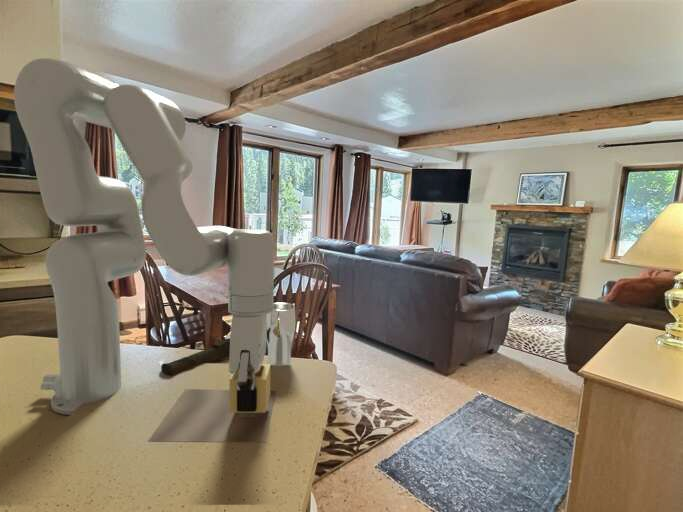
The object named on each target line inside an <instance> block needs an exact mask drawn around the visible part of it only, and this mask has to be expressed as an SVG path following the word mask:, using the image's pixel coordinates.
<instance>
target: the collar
mask: <svg viewBox="0 0 683 512" xmlns="http://www.w3.org/2000/svg"><path fill="white" fill-rule="evenodd" d="M271 366H272V365H271V364H267V363H262V365H261V367H260V370H259V371H258V372H257V373H256V380H255V388H257V409H256V411H255V412H239V411H237V383H238V370H239V366H238V368H237V370H236V372H235V373H233V374H232V373H231V375H230V378H229V390H230V412H232V413H265V412H266V408H267V404H268V401H269V397H270V391H271ZM248 370H253V367H249V368H248ZM251 377H252V375H248V379H250V381H251Z"/></svg>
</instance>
